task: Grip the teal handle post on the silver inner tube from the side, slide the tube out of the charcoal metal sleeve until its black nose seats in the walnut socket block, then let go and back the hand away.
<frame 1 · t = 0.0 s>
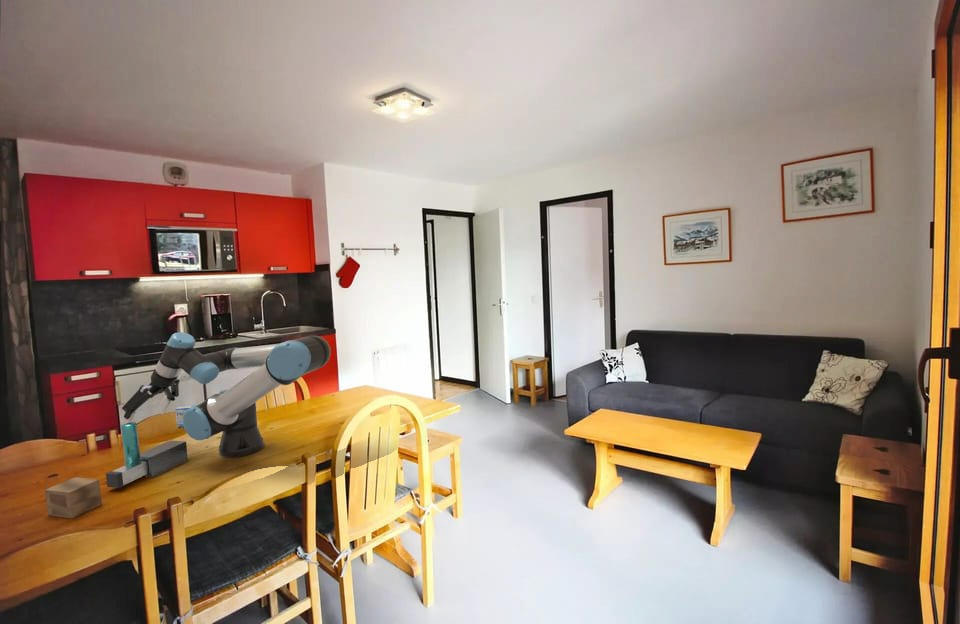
hand: (143, 418, 169), 15 cm above the table, tool tilted 35°, fingers open, 13 cm apart
socket block: (75, 509, 134), on the table
sleeve: (162, 468, 162), on the table
medicine box: (188, 426, 206), on the table
inner tube: (144, 445, 155), point 10 cm above the table, slide at 0.0 cm
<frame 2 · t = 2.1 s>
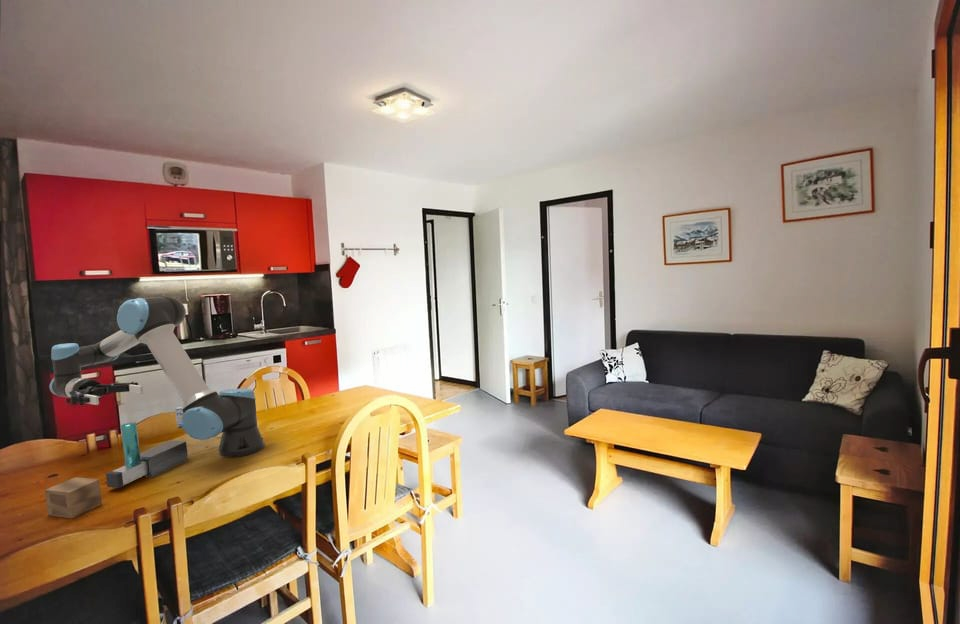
hand: (120, 395, 158), 26 cm above the table, tool horizontal, fingers open, 13 cm apart
nothing on the table moved.
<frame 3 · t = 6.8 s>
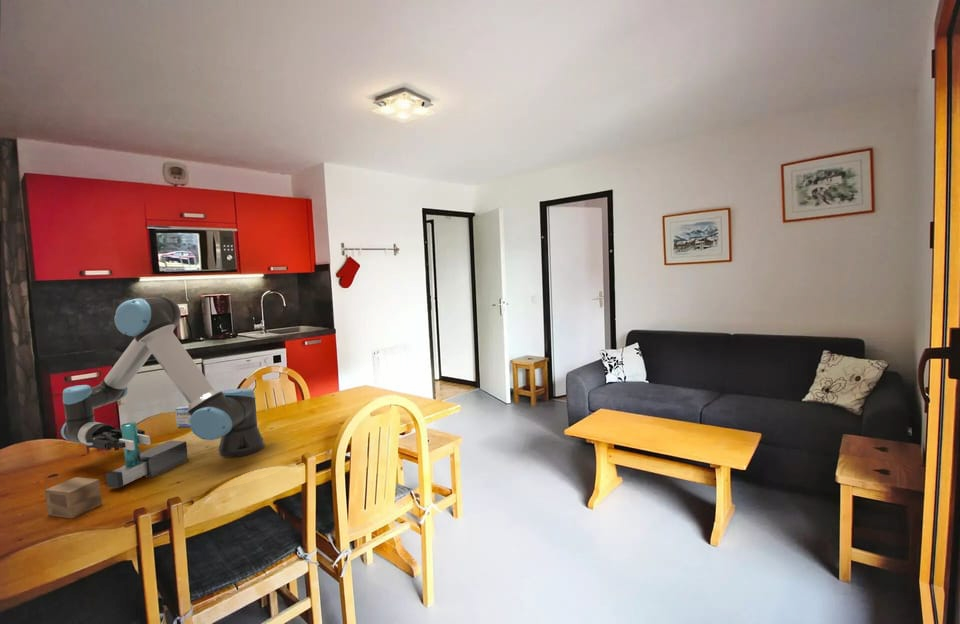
hand: (141, 443, 148), 13 cm above the table, tool horizontal, fingers closed on inner tube, 4 cm apart
inner tube: (144, 445, 155), point 10 cm above the table, slide at 0.0 cm, touching gripper
everything else where it was.
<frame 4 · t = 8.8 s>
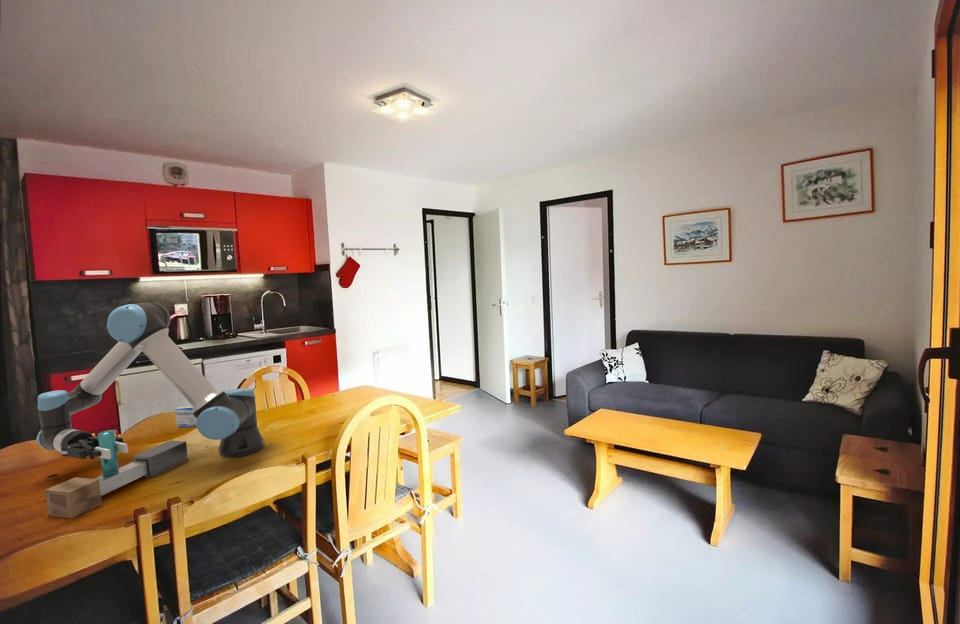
hand: (117, 451, 142), 14 cm above the table, tool horizontal, fingers closed on inner tube, 4 cm apart
inner tube: (123, 454, 148), point 10 cm above the table, slide at 7.2 cm, touching gripper
everything else where it was.
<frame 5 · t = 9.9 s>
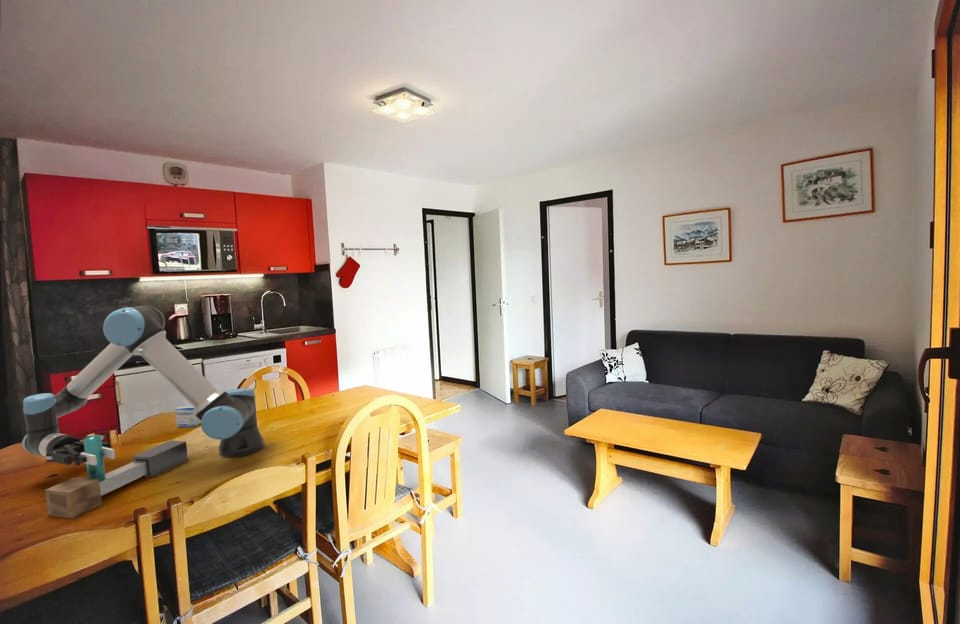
hand: (104, 457, 137), 14 cm above the table, tool horizontal, fingers closed on inner tube, 4 cm apart
inner tube: (110, 459, 144), point 10 cm above the table, slide at 11.3 cm, touching gripper
everything else where it was.
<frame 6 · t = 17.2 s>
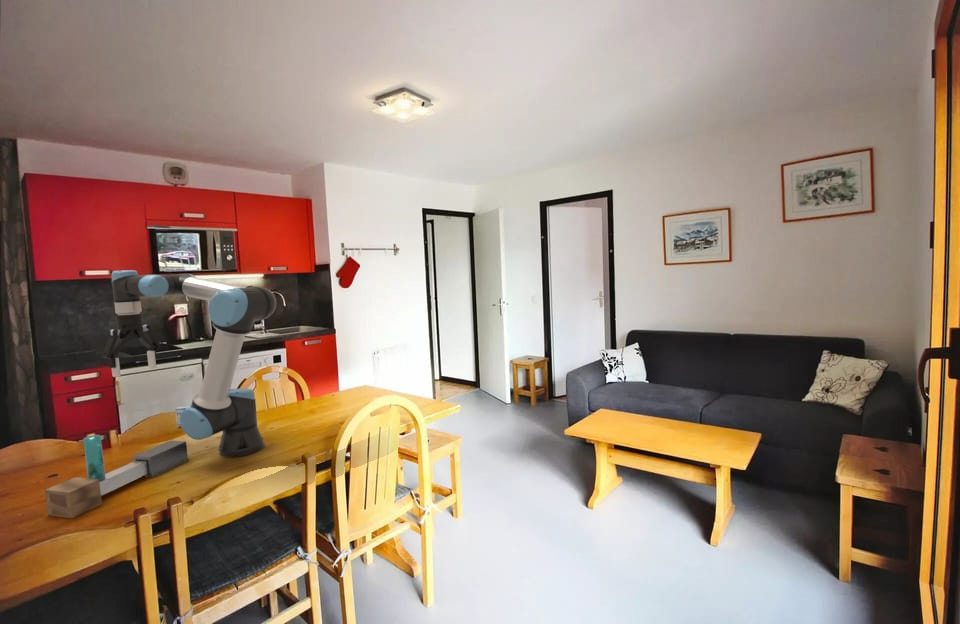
hand: (135, 372, 169), 32 cm above the table, tool pointing down, fingers open, 13 cm apart
inner tube: (110, 459, 144), point 10 cm above the table, slide at 11.4 cm
everything else where it was.
at the end: inner tube slide at 11.4 cm; the gripper is holding nothing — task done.
